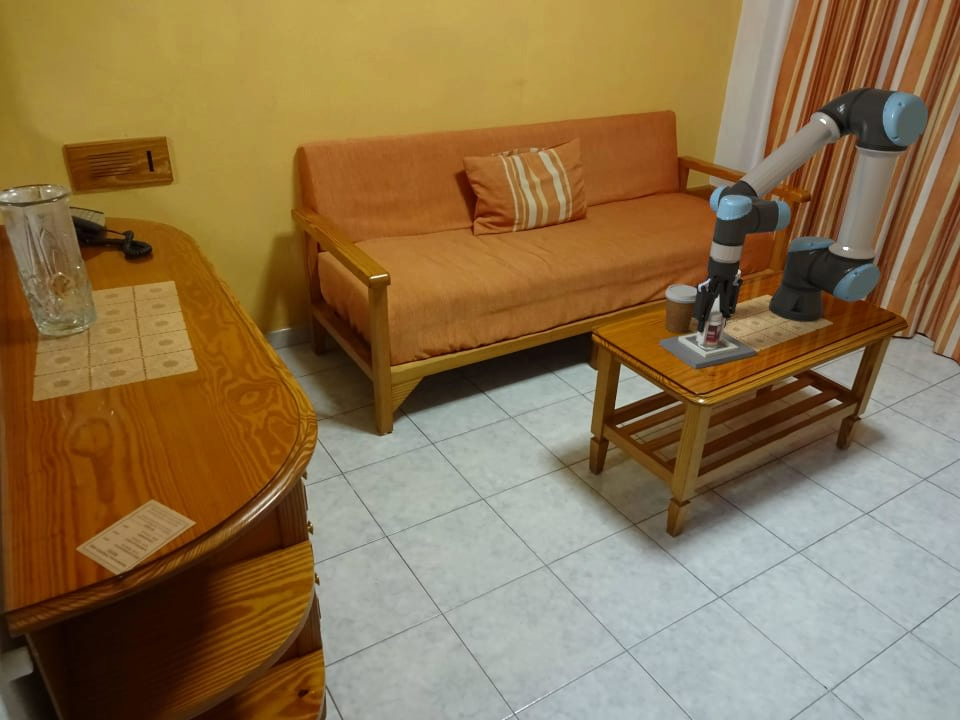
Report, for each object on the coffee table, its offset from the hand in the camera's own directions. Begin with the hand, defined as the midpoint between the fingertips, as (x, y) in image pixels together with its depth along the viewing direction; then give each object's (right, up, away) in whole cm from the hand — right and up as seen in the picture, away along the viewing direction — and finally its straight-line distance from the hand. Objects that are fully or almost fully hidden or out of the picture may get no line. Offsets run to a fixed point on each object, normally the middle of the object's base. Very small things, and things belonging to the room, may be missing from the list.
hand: (708, 340), depth 183 cm
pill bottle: (0, 0, 0) cm, 1 cm away
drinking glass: (+10, +7, +21) cm, 24 cm away
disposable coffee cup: (-5, +4, +13) cm, 14 cm away
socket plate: (0, -3, +1) cm, 3 cm away
